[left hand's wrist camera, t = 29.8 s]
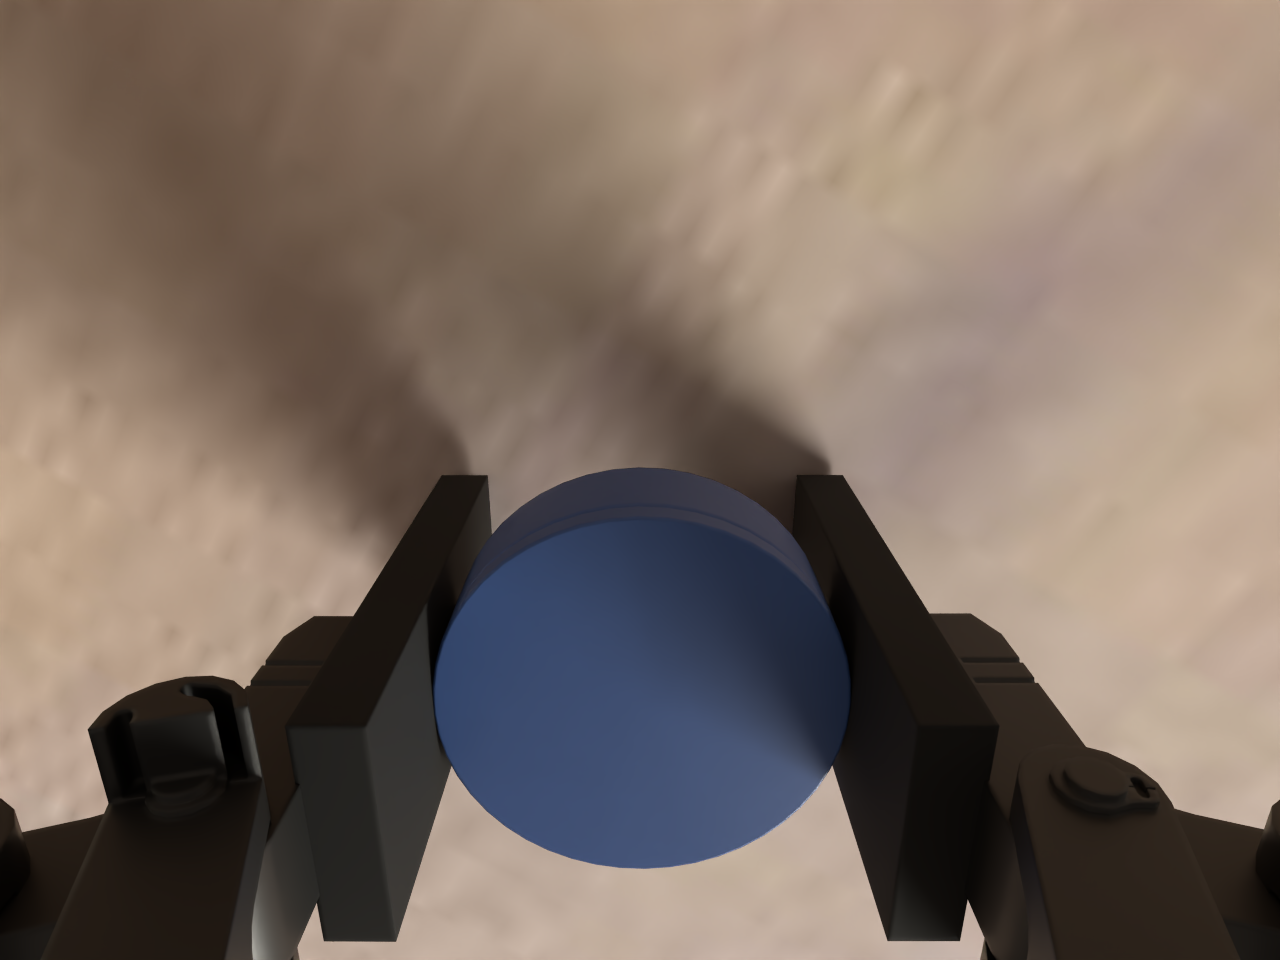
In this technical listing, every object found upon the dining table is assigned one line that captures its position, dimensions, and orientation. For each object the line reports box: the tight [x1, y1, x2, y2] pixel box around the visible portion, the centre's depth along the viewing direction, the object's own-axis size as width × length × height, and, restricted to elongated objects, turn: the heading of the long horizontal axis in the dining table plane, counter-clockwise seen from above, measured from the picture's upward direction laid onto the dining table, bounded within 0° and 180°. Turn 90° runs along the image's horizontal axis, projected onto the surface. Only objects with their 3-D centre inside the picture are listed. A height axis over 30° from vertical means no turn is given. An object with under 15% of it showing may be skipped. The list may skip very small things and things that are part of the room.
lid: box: [432, 468, 851, 869], centre depth 11 cm, size 5×5×2 cm
